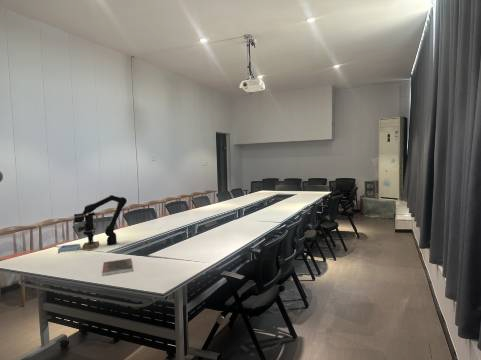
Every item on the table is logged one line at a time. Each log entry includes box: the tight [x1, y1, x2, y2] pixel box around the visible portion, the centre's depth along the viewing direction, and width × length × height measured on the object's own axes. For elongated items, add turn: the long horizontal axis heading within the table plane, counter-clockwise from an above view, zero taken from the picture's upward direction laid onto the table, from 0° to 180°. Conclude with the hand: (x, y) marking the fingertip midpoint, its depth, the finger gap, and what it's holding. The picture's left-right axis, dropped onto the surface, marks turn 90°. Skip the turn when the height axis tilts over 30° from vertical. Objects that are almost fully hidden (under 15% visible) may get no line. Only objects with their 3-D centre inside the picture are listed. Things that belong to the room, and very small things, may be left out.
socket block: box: [82, 240, 100, 251], centre depth 243 cm, size 10×10×4 cm
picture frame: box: [101, 258, 134, 277], centre depth 192 cm, size 16×2×22 cm
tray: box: [57, 243, 82, 254], centre depth 239 cm, size 13×11×3 cm
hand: (90, 241), depth 243 cm, fingers closed on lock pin, 3 cm apart
